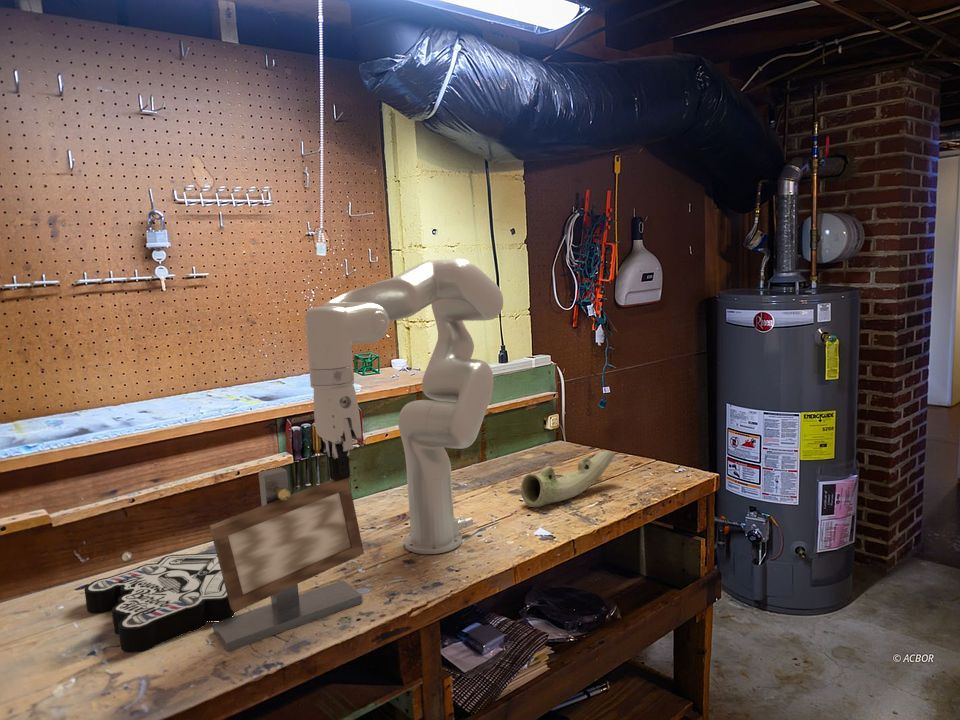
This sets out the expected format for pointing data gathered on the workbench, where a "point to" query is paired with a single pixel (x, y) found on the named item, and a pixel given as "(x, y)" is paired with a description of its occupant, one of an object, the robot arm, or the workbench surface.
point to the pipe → (563, 481)
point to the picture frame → (286, 542)
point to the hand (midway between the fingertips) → (340, 477)
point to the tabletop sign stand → (283, 592)
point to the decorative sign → (161, 599)
